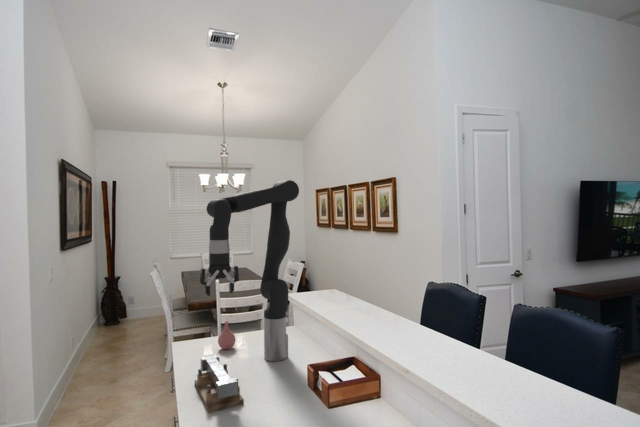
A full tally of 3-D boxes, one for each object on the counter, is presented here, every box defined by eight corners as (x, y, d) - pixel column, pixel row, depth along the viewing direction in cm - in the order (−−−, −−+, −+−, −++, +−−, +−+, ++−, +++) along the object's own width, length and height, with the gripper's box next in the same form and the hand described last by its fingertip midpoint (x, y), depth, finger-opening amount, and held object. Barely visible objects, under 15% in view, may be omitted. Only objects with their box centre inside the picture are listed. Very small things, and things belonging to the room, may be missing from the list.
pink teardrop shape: (229, 352, 165) (229, 325, 165) (214, 350, 168) (214, 323, 168) (238, 346, 173) (238, 320, 173) (224, 344, 175) (223, 319, 175)
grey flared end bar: (217, 365, 140) (217, 354, 140) (237, 394, 118) (237, 381, 118) (200, 368, 137) (200, 357, 137) (218, 398, 115) (218, 385, 115)
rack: (225, 377, 140) (225, 360, 140) (243, 403, 121) (243, 383, 121) (194, 384, 134) (194, 366, 134) (208, 412, 115) (208, 391, 115)
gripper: (234, 249, 151) (235, 290, 151) (198, 251, 144) (198, 294, 144) (240, 251, 144) (241, 293, 144) (202, 253, 137) (202, 298, 137)
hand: (219, 294), depth 144 cm, fingers open, 8 cm apart
